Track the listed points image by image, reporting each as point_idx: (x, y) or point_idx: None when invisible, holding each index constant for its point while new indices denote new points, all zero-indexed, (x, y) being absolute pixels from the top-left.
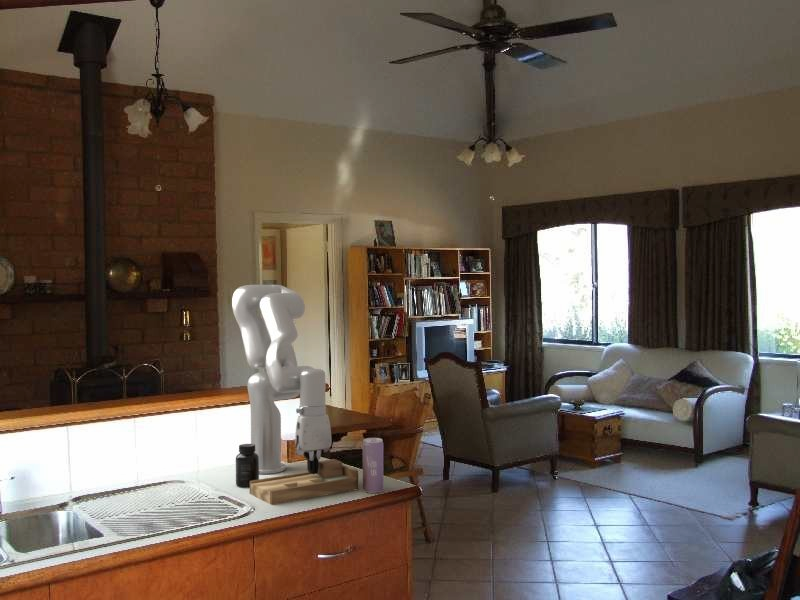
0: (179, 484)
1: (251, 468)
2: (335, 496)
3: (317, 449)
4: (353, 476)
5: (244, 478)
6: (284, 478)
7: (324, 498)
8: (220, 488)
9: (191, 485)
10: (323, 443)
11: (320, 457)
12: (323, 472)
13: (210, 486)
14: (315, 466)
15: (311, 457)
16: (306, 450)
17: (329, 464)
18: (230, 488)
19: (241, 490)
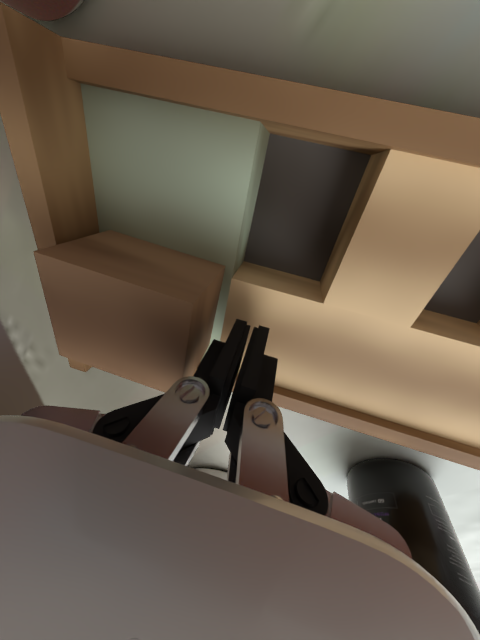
0: (477, 578)
1: (444, 551)
2: (333, 16)
3: (197, 478)
4: (65, 79)
5: (446, 513)
6: (366, 413)
7: (434, 33)
8: (472, 514)
9: (474, 562)
10: (11, 549)
11: (172, 385)
12: (212, 291)
13: (461, 534)
14: (241, 351)
15: (257, 427)
16: (406, 565)
17: (149, 288)
18: (457, 497)
19: (468, 468)
